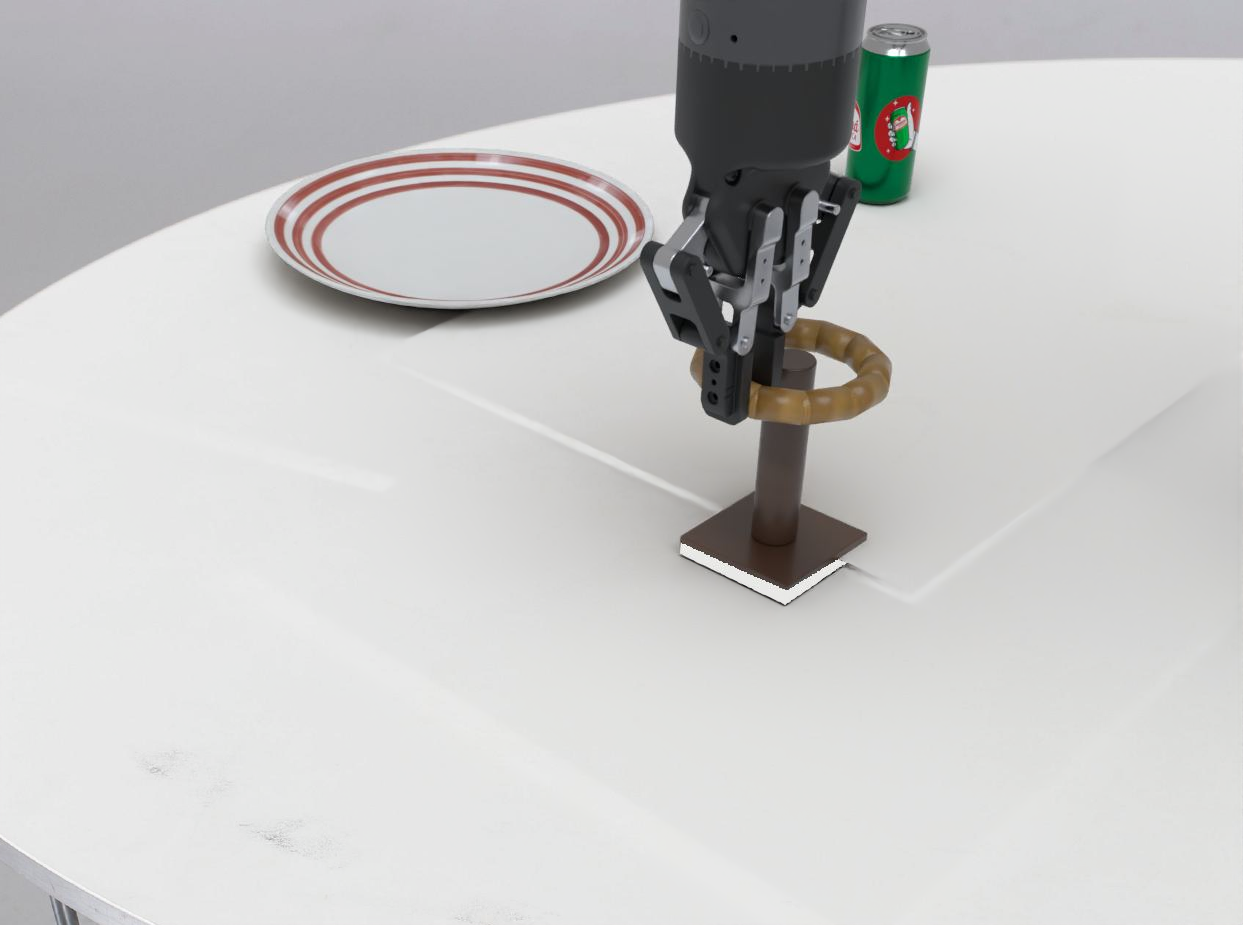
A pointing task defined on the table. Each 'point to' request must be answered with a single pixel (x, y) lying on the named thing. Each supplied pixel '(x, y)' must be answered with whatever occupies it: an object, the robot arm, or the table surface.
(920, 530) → the table surface
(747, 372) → the robot arm
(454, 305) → the dinner plate
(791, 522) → the stand
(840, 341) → the ring
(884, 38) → the soda can
